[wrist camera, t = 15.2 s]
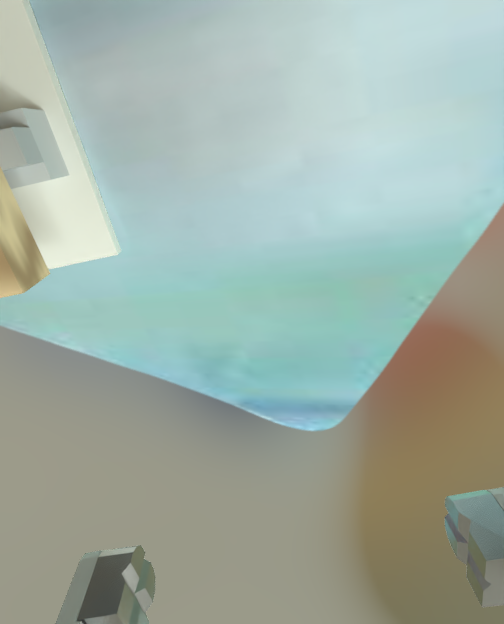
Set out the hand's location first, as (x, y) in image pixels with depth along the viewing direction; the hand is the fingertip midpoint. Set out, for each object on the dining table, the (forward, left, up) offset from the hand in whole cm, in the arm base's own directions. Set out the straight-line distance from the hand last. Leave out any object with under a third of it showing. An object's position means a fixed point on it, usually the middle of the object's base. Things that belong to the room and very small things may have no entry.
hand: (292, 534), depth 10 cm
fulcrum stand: (-12, -18, -29) cm, 36 cm away
